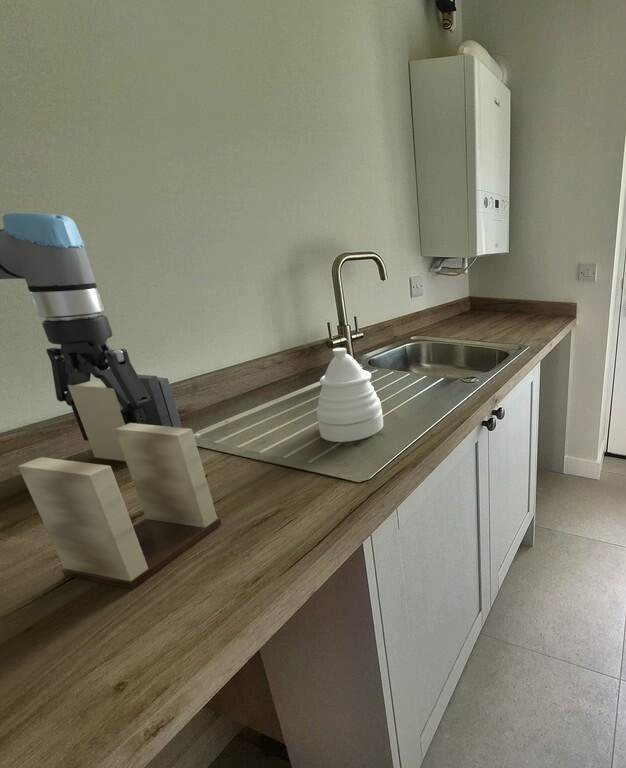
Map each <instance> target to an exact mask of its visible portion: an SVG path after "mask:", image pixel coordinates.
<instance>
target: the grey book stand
mask: <svg viewBox="0 0 626 768" xmlns="http://www.w3.org/2000/svg"><path fill="white" fill-rule="evenodd" d="M137 375H138V377H139V379H140V381H141V382H142V384H143V386H144V388H145V390H146V391H147V393H148V395H149V397H150V399H151V403H149V404H146V405H144V406H143V412H144V415H145V419H146V421H147V425H156V426H167V427H177V428H183V425H182V422H181V418H180V416H179V412H178V408H177V405H176V401H175V398H174V394H173V391H172V388H171V384H170V380H169V378H168V377H158V376H157V375H148V374H137ZM141 399H142V398H141ZM93 459H97V460H106V461H115V462H121V463H122V462H123V463H126V461H122V460H113V459H105V458H97V457H95V456H94V457H93Z"/></svg>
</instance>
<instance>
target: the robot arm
mask: <svg viewBox="0 0 626 768" xmlns="http://www.w3.org/2000/svg"><path fill="white" fill-rule="evenodd" d="M1 219H2V222H3V228H0V280H22V279H24V280H25V283H26V285H27V289H28V291H29V294H30V297H31V300H32V303H33V305H34V307H35V309H36V313H37V315H38V317H40V318H41V319H42V318H44V319H43V321H42V322H41V326H42V328H43V331H44V334H45V335H46V338H47V340H48V342H49V343H50V344H52V345H60V346H55V347H50V348H47V349H46V354H47V356H48V358H49V360H50V365H51V371H52V377H53V378H52V379H53V384H54V390H55V396H56V400H57V401H58V402H59V403H62V402H65V403H66V405H67V406H68V407H71V409H72V412H73V415H74V417H75V420H76V422H77V425H78V428H79V430H80V432H81V435H82V438H83V441H86V442H87V441H88V442H89V440H88V437H87V435H86V432H85V430H84V427H83V424H82V422H81V419H80V416H79V414H78V411H77V409H76V406H75V403H74V401H73V398H72V395H71V393H70V390H69V387H68V385H73V386H74V385H77V384H81V383H85V382H88V381H91V377H94V378H95V379H99V380H100V382H103V383H104V384H105V386H106V387H107V388H112V389H114V391H115V394H116V396H117V399H118V402H119V403H120V404H121V406H122V407H123V409H122V410H121V411H120V412H121V414H122V417H123V420H124V423H125V425H126V424H129V423H136V424H146V425H147V421H146V419H145V415H144V412H143V406H144V405H146V404H149V403H151V399H150V397H149V395H148V393H147V391H146V390H145V388H144V386H143V384H142V382H141V381H140V379H139V377H138V375H139V374H138V373H137V372H136V370H135V368H134V366H133V364H132V363H131V360H130V356H129V352H128V351H127V349H126V348H120V349H112V348H111V347H110V345H109V343H108V339H111V338H112V336H113V330H112V327H111V324H110V321H109V319H108V316H106V315H104V314H103V313H104V312H105V307H104V305H103V302H102V298H101V295H100V293H99V290H98V286H97V283H96V278H95V276H94V273H93V270H92V267H91V263H90V260H89V257H88V253H87V251H86V248H85V246H86V244H85V241H83V239H82V236H81V234H80V231H79V229H78V226H77V224H76V222H75V221H74V220H73V219H72V218H71V217H69V216H66V215H64V214H57V213H55V214H53V213H30V212H12V213H11V212H10V213H5V214H4V215H2V218H1ZM101 313H102V314H101ZM141 398H142V399H141ZM128 401H129V402H130V403H129V402H128Z"/></svg>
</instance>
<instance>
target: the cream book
mask: <svg viewBox="0 0 626 768" xmlns="http://www.w3.org/2000/svg"><path fill="white" fill-rule="evenodd" d="M68 387H69V390H70V393H71V395H72V398H73V401H74V403H75V406H76V409H77V411H78V414H79V416H80V419H81V422H82V424H83V427H84V430H85V432H86V435H87V437H88V443H89V445H90V448H91V450H92V454H93V456H94V457H97V458H105V459H104V460H106V459H113V460H112V461H114V460H122V461H126V460H125V457H124V455H123V452H122V449H121V446H120V443H119V440H118V438H117V435H116V432H115V429H116V428H118V427H121V426H124V425H125V423H124V420H123V417H122V414H121V412H120V411H121V410H122V409H123V407H122V406H121V404H120V403H119V402H118V399H117V396H116V394H115V391H114V389H112V388H107V387H106V386H105V384H104V383H103V382H102V381H95V380H94V381H93V380H90V381H88V382H85V383H81V384H77V385H74V386H73V385H68ZM128 402H129V401H128ZM129 403H130V402H129ZM97 458H96V459H97ZM122 461H121V462H122Z"/></svg>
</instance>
